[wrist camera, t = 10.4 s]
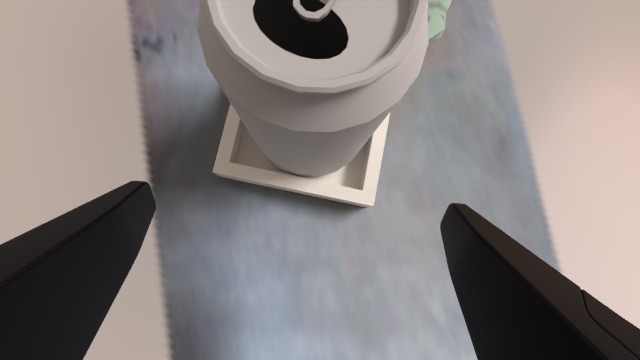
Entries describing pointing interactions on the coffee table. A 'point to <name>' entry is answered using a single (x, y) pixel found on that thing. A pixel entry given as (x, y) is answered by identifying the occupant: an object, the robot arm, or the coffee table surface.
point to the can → (313, 71)
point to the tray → (343, 185)
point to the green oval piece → (436, 18)
